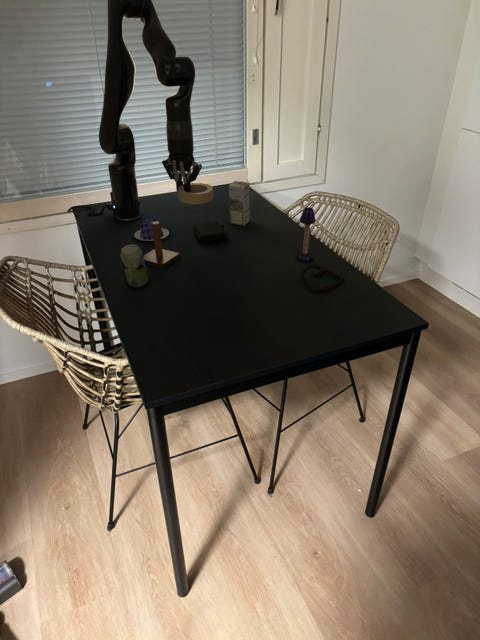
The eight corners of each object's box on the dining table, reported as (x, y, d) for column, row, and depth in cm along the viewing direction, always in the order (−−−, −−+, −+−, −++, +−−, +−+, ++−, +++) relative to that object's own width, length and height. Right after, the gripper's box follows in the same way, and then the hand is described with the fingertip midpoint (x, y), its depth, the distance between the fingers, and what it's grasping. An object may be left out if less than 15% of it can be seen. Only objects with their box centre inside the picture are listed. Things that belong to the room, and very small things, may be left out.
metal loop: (335, 258, 146) (351, 273, 138) (333, 275, 149) (348, 290, 140) (294, 261, 142) (307, 276, 134) (291, 278, 145) (305, 293, 137)
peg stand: (139, 262, 155) (134, 225, 148) (157, 251, 161) (153, 215, 154) (162, 269, 151) (158, 230, 144) (179, 257, 158) (176, 220, 151)
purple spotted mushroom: (315, 260, 155) (319, 209, 146) (303, 264, 153) (307, 212, 144) (306, 254, 158) (309, 204, 149) (294, 258, 156) (297, 207, 147)
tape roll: (171, 200, 148) (171, 190, 147) (191, 190, 156) (190, 181, 154) (200, 206, 144) (200, 196, 143) (219, 195, 152) (219, 186, 150)
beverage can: (153, 280, 145) (148, 242, 138) (140, 292, 139) (135, 253, 132) (134, 277, 147) (128, 239, 140) (121, 289, 141) (114, 250, 134)
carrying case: (231, 241, 167) (221, 225, 179) (231, 233, 165) (220, 217, 177) (200, 245, 165) (192, 229, 177) (200, 237, 163) (191, 221, 175)
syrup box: (250, 220, 183) (250, 181, 175) (243, 226, 178) (243, 186, 170) (236, 218, 185) (235, 180, 177) (229, 224, 180) (228, 184, 172)
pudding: (163, 226, 179) (161, 212, 176) (174, 238, 170) (172, 224, 167) (130, 232, 175) (128, 218, 172) (140, 245, 165) (138, 230, 163)
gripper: (207, 135, 142) (209, 194, 152) (168, 130, 148) (172, 187, 157) (192, 141, 137) (195, 201, 146) (152, 135, 142) (158, 194, 152)
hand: (183, 194), depth 152 cm, fingers closed on tape roll
